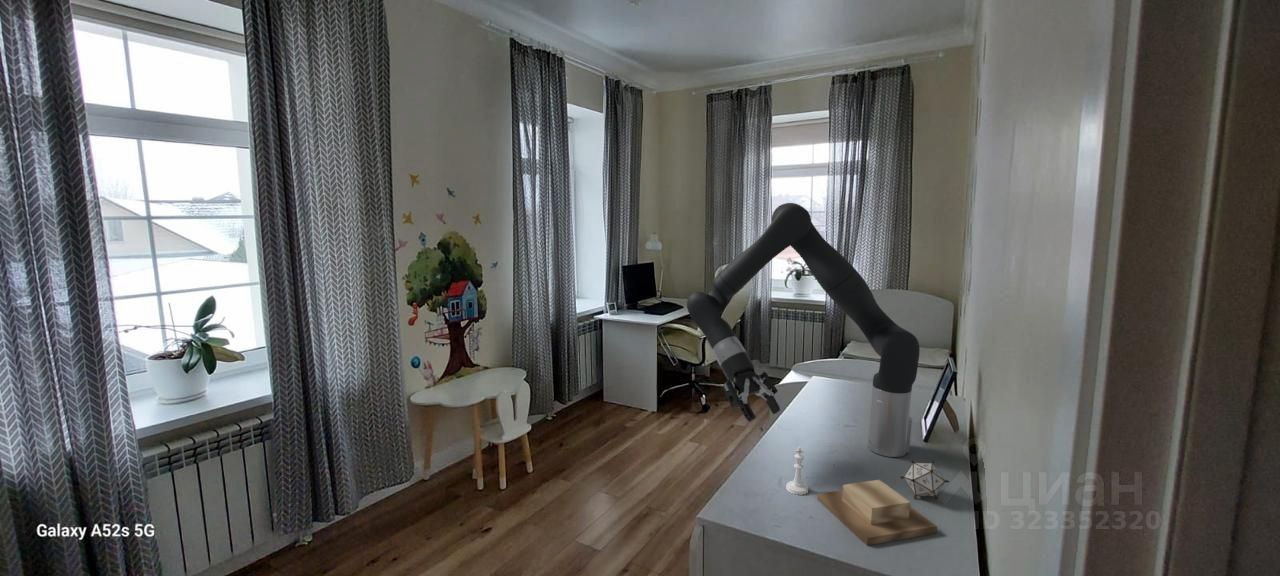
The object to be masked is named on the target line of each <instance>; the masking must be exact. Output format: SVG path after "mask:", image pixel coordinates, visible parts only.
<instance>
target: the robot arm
mask: <svg viewBox="0 0 1280 576" xmlns="http://www.w3.org/2000/svg"><path fill="white" fill-rule="evenodd" d="M770 220H771V223H770V224H769V225H768V227H767V228H766V230H765V231H764V232H763V233H762V234H761V235H760V236H759V237H758V239H757V240H756V241H755V242H754V243H752V244H751V245H750V246H749V247H748V248H746V249H745V250H744V251H743V252H741V253H740V254H739V255H737V256H736V257H735V258H734V259H732V260H731V261H730V262H729V263H728V264H726V266H725V267H724V268H723V269H722V270H721V271H720V272H719V273H718V274H717V275H716V276H715V277H714V279H713V281H712V284H713V286H712V289H711V290H710V291H709V292H708V293H706V292H704V291H695V292H693V293H691V294H690V295H689V296H688V298H687V301H686V309H687V311H688V315H689V316H690V318H691V319H692V321H693V322H694V323H695V325H696V326H697V327H698V329H699V330H700V331H701V333H703V334H704V336H705V338H706V341H707V342H708V344H709V346H710V347H711V350H712V351H713V354H714V357H715V359H716V361H717V363H718V364H719V366H720V369H721V371H722V372H723V374H724V376H725V377H726V379H727V381H726V382H725V383H724V384H722V386H721V387H722V390H723V392H724V393H725V396H726V397H727V401H728V403H729V404H730V406H731V407H732V408H738V409H740V411H741V412H742V415H744V419H746V420H747V421H748V422H752V421H754V420H755V419H756V415H755V413H754V411H753V409H752V408H751V405H750V404H749V403H748V397H750V396H752V395H753V396H754V395H755V396H757V397H761V398H762V399H763V400H765V403H766V404H767V405H768V408H769V409H770V411H771V413H772V414H773V415H775V414H778V413H779V412H780V411H781V408H780V405H779V404H778V402H777V400H776V398H775V395H776V394H777V393H778V391H779V390H778V389H777V387H776V386H775V384H774V383H773V381H772V380H771V378H770V377H769V375H768V373H767V372H765V371H763V372H762V373H761V374H757V373H756V371H755V365H754V363H753V361H752V360H751V358H750V355H748V353H747V350H746V349H745V347H744V346H743V344H742V343H741V341H740V340H739V339H738V337H737V335H736V334H735V332H734V329H732V327H731V325H730V324H729V322H727V321H726V320H725V319H724V318H722V316H721V315H722V313H723V312H724V311H725V309H726V308H727V307H728V305H729V304H730V302H731V301H732V299H733V298H734V296H735V295H737V294H738V292H740V291H741V290H742V289H743V288H744V287H745V286H746V285H747V284H748V283H749V282H750V281H751V280H752V279H753V278H754V277H755V276H756V275H757V274H758V273H759V272H760V271H761V270H762V269H763V268H764V267H766V266H767V265H768V263H769V262H771V261H772V260H773V259H774V258H775V257H777V256H778V255H779V254H781V253H782V252H783V251H784V250H785V249H787V248H789V247H791V248H792V249H793V250H794V251H795V252H796V253H797V254H798V255H799V256H800V257H801V259H802V261H803V263H805V265H806V266H807V268H808V269H809V271H810V272H811V275H812V276H813V277H814V278H815V280H816V281H817V283H818V284H819V285H820V287H821V288H822V289H823V291H824V292H825V293H826V294H827V295H828V296H829V297H830V299H831V300H832V302H834V304H836V305H837V306H838V308H840V310H841V311H842V312H843V313H844V314H846V315H847V316H848V317H849V318H850V319H851V320H852V321H853V323H855V324H856V325H857V327H858V328H859V329H860V331H861V333H863V335H864V337H865V339H867V342H869V344H870V345H871V347H872V349H873V350H874V351H875V353H876V354H877V355H878V356H879V357H880V361H879V369H878V372H876V373H875V374H873V377H872V388H871V399H870V400H871V401H870V402H871V403H870V411H869V412H870V413H869V414H870V415H869V424H868V425H869V426H868V434H867V435H868V436H867V437H868V438H867V448H868V449H869V450H870V451H871V452H873V453H875V454H877V455H880V456H884V457H889V458H890V457H891V458H900V457H901V458H902V457H903V456H905V455H906V453H910V446H911V437H912V436H911V434H912V426H913V418H912V417H911V416H910V414H911V412H910V411H911V403H912V401H911V400H912V390H913V385H914V383H915V381H916V379H917V375H918V374H917V373H918V367H919V361H920V350H921V349H920V343H919V341H918V338H917V337H916V336H915V335H914V334H913V333H912V332H911V331H908V330H907V329H904V328H902V327H901V326H899V325H898V324H897V323H895V321H893V320H892V319H891V318H890V316H889V315H887V314H886V312H885V311H884V310H883V309H882V308H881V307H880V305H878V302H877V301H876V299H875V296H874V295H873V292H872V291H871V289H870V286H869V285H868V283H867V282H866V281H865V279H864V278H863V276H862V275H861V274H860V273H859V272H858V271H857V269H856V268H855V267H854V266H853V265H852V264H851V262H849V261H848V260H847V258H846V257H844V256H843V254H841V253H840V252H839V251H838V250H837V249H836V248H835V247H833V246H832V245H831V244H830V243H829V242H828V241H827V240H826V239H825V238H824V237H823V236H822V235H821V233H820V232H819V230H818V229H817V228H816V226H815V225H814V224H813V222H812V218H811V215H810V212H809V211H808V210H807V209H806V208H805V206H804V207H803V206H802V205H800V204H798V203H794V202H785V203H782V204H779V206H777V207H776V208H775V210H774V211H773V212H772V215H771V219H770Z"/></svg>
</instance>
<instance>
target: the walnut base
mask: <svg viewBox="0 0 1280 576" xmlns="http://www.w3.org/2000/svg"><path fill="white" fill-rule="evenodd" d="M817 501H819V503H821V504H822V505H823V506H824V507H825V508H826V509H827V510H828V511H829V512H830V513H831V514H832V515H834V517H836V519H838V520H839V521H840V522H842V523H843V525H844V526H846V527H847V528H848V529H849V530H850V531H851V532H852V533H853V535H855V536H856V537H857V538H858V539H859V540H860V541H861V542H863V544H865V545H866V546H870V545H876V544H882V543H887V542H888V543H889V542H893V541H899V540H903V539H909V538H910V539H911V538H917V537H922V536H927V535H934V534H937V528H938V526H937V525H936V524H935V523H933V522H932V521H931V520H929V519H928V518H927V517H926V516H924V515H923V514H922V513H920V512H918V511H917V510H916V509H915V508H913V507H912V506H911V501H910V500H908V499H907V498H905V497H904V496H902V495H901V494H900V493H898V492H897V491H896V490H894V489H893V488H891V487H890V486H888V485H887V484H886V483H884V482H883V481H882V480H881V479H875V480H868V481H867V480H866V481H860V482H853V483H848V484H847V483H846V484H843V485H842V489H841V490H833V491H825V492H819V493H817Z"/></svg>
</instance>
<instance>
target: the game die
mask: <svg viewBox="0 0 1280 576" xmlns="http://www.w3.org/2000/svg"><path fill="white" fill-rule="evenodd" d="M910 462H911V465H910V467H909V468H908V470H907V471H906V473H905V475H904V476H903V475H900V476H899V478H900V479H904V481H905V482H906V483H907V484H908V487H910V489H911V491H912V492H913V493H914V495H913V500H915V499H917V497H918V496H920V497H934V498H935V499H936V500H939V497H938V493H939V491H940V490H942V487H943V486H944V484H945V483H949V482H950V481H949V480H947V479H945V478H944V477H943V476H942V474H941V473H940V471H939V470H938V468H937V467H936V466H935V464H934V463H935V459H933V460H931V462H914V460H913V459H910Z"/></svg>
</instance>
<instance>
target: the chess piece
mask: <svg viewBox="0 0 1280 576" xmlns="http://www.w3.org/2000/svg"><path fill="white" fill-rule="evenodd" d="M804 452H805V451H804V450H803V449H802V447H798V449H795V453H796V454H794V458H795V459H794V460H795V462H796V463H794V465H793V468H795V474H794V479H793V480H790V481H787V483H786V487H785V488H786V490H787V491H788V492H789V493H791V494H794V495H798V494H799V495H798V496H802V495H803V494H804V495H807V494H808V493H809V492H808V490H809V486H808V484H807V483H805V482H804V481H802V469H804V465H803V460H804V459H805V456H804V455H803V454H804ZM806 493H807V494H806ZM804 495H803V496H804Z"/></svg>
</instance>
